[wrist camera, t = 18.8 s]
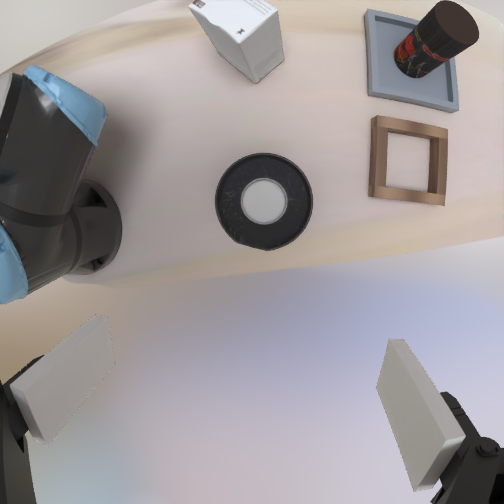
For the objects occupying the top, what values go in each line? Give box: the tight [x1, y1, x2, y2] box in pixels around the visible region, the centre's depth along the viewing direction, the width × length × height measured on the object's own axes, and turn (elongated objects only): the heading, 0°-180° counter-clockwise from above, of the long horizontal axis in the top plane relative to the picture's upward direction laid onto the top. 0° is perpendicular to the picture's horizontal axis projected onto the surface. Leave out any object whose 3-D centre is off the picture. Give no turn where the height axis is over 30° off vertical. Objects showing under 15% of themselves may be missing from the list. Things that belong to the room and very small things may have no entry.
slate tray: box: [364, 9, 459, 113], centre depth 35 cm, size 14×14×2 cm
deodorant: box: [393, 0, 479, 78], centre depth 28 cm, size 6×6×15 cm
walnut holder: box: [368, 115, 448, 206], centre depth 39 cm, size 11×11×3 cm
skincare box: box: [188, 0, 284, 84], centre depth 32 cm, size 8×6×15 cm
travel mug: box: [215, 153, 313, 251], centre depth 33 cm, size 8×8×20 cm
